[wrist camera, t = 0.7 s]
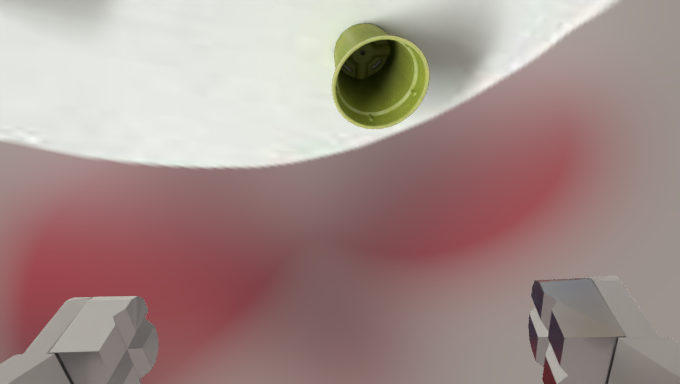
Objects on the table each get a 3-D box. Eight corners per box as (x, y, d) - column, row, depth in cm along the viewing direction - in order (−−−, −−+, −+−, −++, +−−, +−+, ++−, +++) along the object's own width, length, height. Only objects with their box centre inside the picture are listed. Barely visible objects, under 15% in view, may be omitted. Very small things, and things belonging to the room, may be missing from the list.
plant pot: (421, 44, 54) (449, 76, 47) (363, 106, 57) (381, 145, 50) (361, -14, 49) (382, 13, 42) (301, 58, 52) (311, 94, 46)
